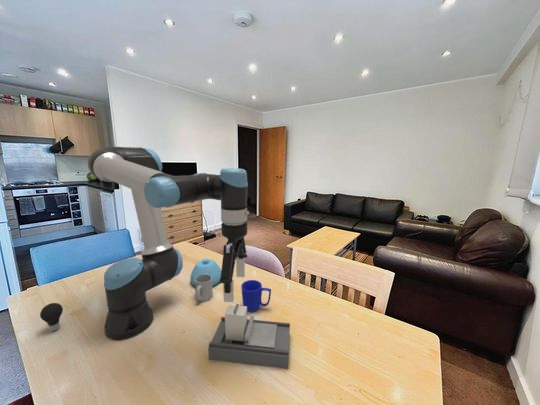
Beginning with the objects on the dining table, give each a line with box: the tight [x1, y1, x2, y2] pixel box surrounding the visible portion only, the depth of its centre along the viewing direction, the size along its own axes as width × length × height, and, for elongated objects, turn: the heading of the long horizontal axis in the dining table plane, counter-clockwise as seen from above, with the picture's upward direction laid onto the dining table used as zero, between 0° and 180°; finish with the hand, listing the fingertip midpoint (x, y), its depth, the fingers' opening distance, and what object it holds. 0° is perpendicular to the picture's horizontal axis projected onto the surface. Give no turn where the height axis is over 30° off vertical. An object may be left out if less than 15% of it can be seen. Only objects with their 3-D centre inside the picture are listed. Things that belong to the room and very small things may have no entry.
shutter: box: [245, 315, 277, 349], centre depth 72 cm, size 9×10×4 cm
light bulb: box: [39, 302, 64, 332], centre depth 78 cm, size 6×6×10 cm
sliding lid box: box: [207, 316, 291, 369], centre depth 73 cm, size 24×13×5 cm, turn 83°
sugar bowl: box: [190, 258, 222, 287], centre depth 111 cm, size 15×15×12 cm
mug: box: [240, 279, 272, 312], centre depth 91 cm, size 8×12×10 cm
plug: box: [224, 303, 248, 344], centre depth 72 cm, size 6×4×12 cm
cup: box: [194, 274, 214, 303], centre depth 97 cm, size 7×10×9 cm
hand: (235, 287), depth 70 cm, fingers open, 13 cm apart
